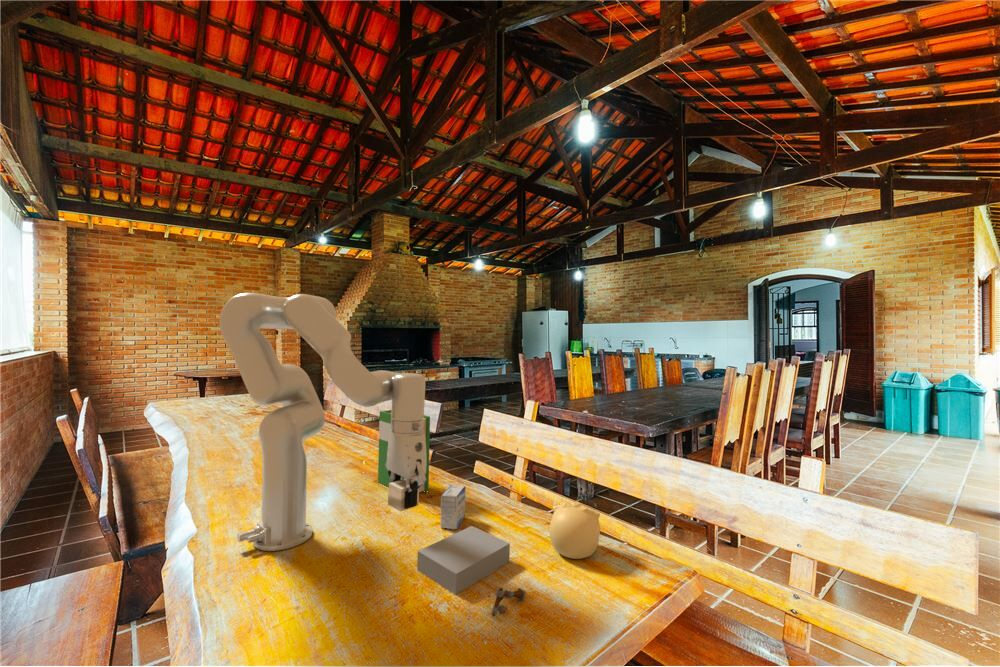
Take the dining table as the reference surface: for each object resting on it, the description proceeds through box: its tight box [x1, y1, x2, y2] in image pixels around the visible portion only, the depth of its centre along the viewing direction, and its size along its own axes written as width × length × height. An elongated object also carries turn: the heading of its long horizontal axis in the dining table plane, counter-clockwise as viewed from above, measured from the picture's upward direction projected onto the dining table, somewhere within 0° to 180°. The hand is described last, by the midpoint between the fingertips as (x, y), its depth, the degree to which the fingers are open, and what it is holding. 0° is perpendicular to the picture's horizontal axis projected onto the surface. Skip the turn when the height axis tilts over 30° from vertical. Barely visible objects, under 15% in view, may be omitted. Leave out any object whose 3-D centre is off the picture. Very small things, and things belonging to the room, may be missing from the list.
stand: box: [416, 525, 511, 595], centre depth 89 cm, size 16×12×4 cm
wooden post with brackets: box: [490, 587, 527, 617], centre depth 75 cm, size 2×8×4 cm, turn 137°
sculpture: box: [549, 501, 601, 560], centre depth 96 cm, size 11×12×11 cm
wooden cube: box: [387, 479, 420, 512], centre depth 96 cm, size 5×5×5 cm
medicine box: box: [440, 484, 466, 530], centre depth 109 cm, size 8×4×9 cm, turn 168°
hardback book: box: [377, 409, 431, 493], centre depth 133 cm, size 18×7×24 cm, turn 47°
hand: (403, 502), depth 96 cm, fingers closed on wooden cube, 5 cm apart
